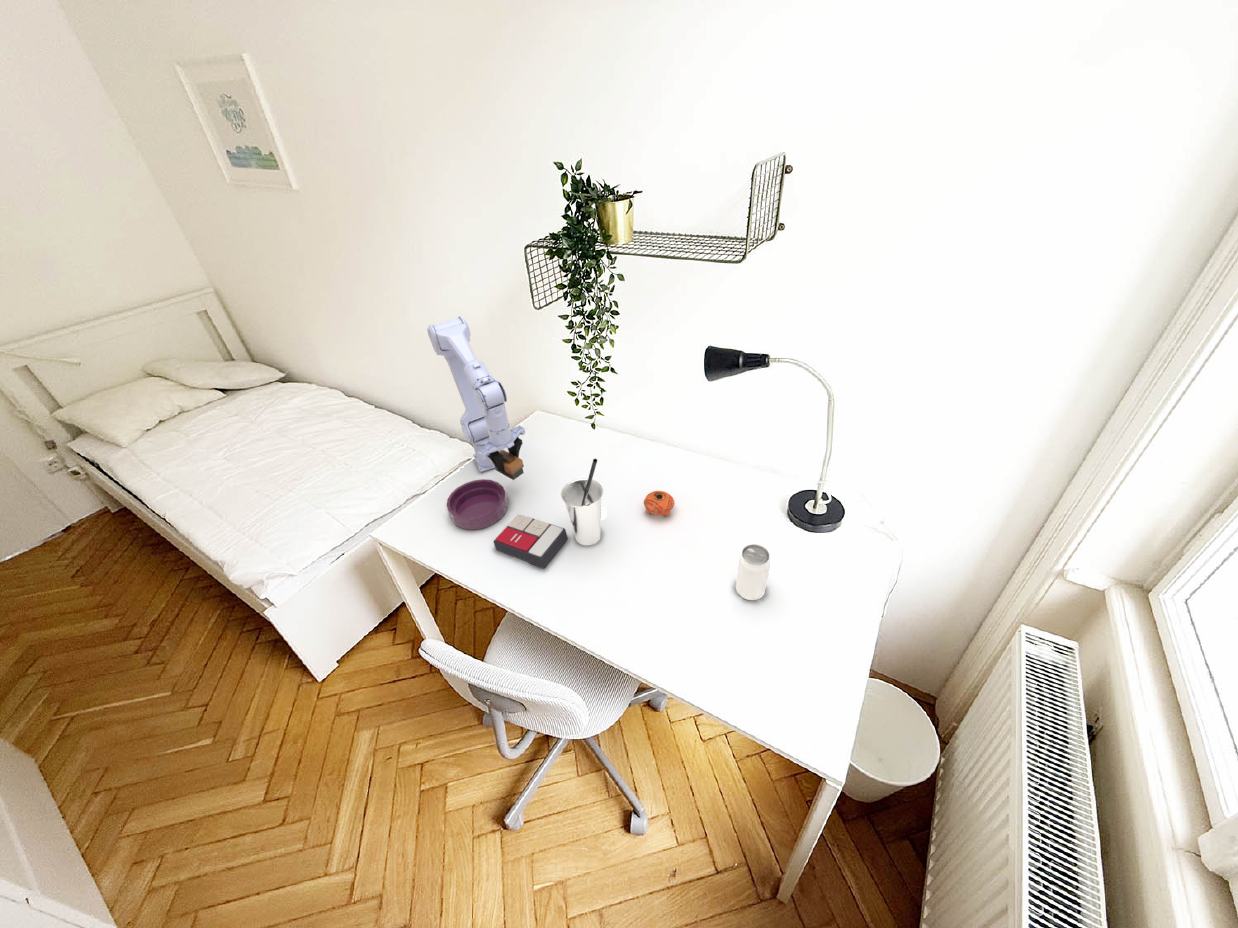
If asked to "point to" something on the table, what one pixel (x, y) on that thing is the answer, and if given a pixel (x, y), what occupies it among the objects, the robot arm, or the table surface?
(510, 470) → the scrub brush
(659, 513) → the pot
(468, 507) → the bowl
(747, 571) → the can
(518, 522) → the calculator
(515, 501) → the table surface
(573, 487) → the metal cup with straw
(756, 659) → the table surface
